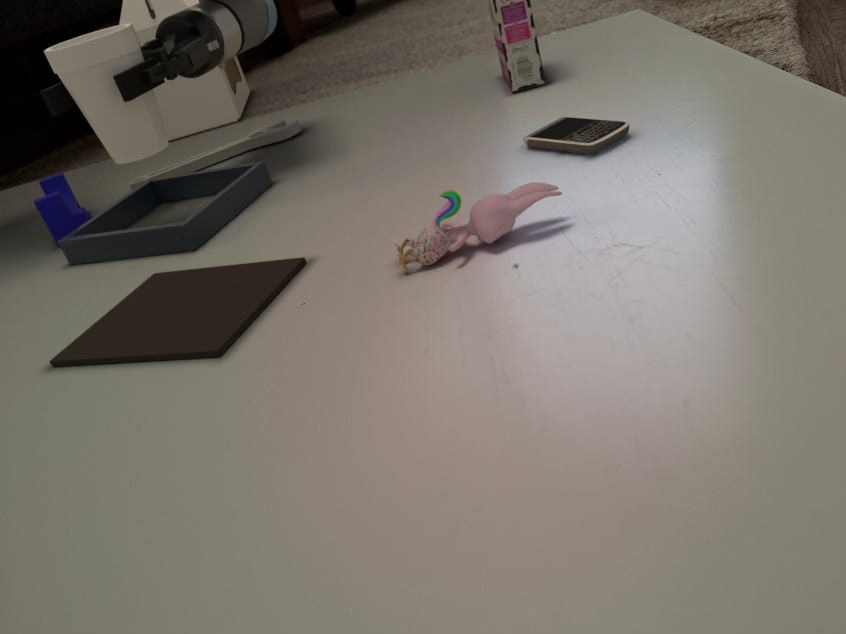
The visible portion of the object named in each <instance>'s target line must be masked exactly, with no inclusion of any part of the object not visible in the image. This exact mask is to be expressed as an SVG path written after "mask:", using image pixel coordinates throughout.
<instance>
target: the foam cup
mask: <svg viewBox="0 0 846 634" xmlns="http://www.w3.org/2000/svg"><path fill="white" fill-rule="evenodd" d="M140 47H141V43H140V41H139V38H138V36H137V34H136V31H135V29H134V27H133V25H132V23H129V24H122V25H119V24H118V25H114V26H110V27H106V28H102V29H99V30H95V31H92V32H88V33H85V34H82V35H79V36H77V37H76V36H75V37H73V38H71V39H68V40H65V41H62V42H60V43H57V44H55V45H52V46H50V47H48V48H46V49H45V50H43V53H44V55H45V58H46V59H47V61H48V63H49V65H50V67H51V69H52V71H53V73H54V74H55V75H57V76H58V78H59V79H60V82H63V84H64V85H65V87H66V88H67V90H68V91H69V93H70V94H71V96H72V98H73V99H74V101H75V102H76V104H77V107H78V108H79V110H80V111H81V113H82V115H83V117H84V118H85V119H86V121H87V122H88V124H89V125H90V127H91V128H92V130H93V132H94V133H95V135H96V137H97V138H98V139H99V141H100V143H101V144H102V145H103V147H104V149H105V150H106V152H107V153H108V154H109V156H110V158H111V159H112V160H113V162H114V164H117V165H123V164H130V163H134V162H138V161H141V160H144V159H147V158H150V157H152V156H154V155H156V154H158V153H160V152H163V151H164V150H165V149H166V148H168V147H169V145H170V143H169V142H170V141H168V140H167V134H166V131H165V128H164V124H163V121H162V118H161V114H160V111H159V108H158V104H157V101H156V98H155V95H154V91H153V89H152V90H150V91H148V92H146V93H144V94H142V95H141V96H139V97H137V98H135V99H133V100H131V101H128V102H124V100H123V98H122V96H121V94H120V91H119V89H118V87H117V85H116V83H115V81H114V78H113V76H115V75H117V74H119V73H121V72H123V71H125V70H127V69H129V68H131V67H133V66H135V65H137V64H139V63H141V62H143V61H144V58H143V55H142V51H141V48H140Z"/></svg>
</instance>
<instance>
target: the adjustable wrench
mask: <svg viewBox="0 0 846 634" xmlns="http://www.w3.org/2000/svg"><path fill="white" fill-rule="evenodd" d="M301 131H302V128H301V125H300V123H299V120H297V119H296V120H294V121H292V122H289V123H288V124H287V121H286V120H285V119H284V120H283V119H282V120H278V121H276V122H272V123H269V124H267V125H264V126H262V127H258V128H257V127H256V129H255V130H254V131H252V132H251V133H249V134H247V135H246V136H244V137H242V138H239V139H237V140H234V141H231V142H228V143H225V144H224V145H220V146H218V147H215V148H213V149H210V150H208V151H205V152H202V153H199V154H197V155H195V156H192V157H190V158H187V159H184V160H182V161H179V162H176V163H173V164H171V165H169V166H166V167H163V168H161V169H158V170H155V171H152V172H150V173H147V174H145V175H142V176H140V177H136V178H135V179H133V180H131V181H129V182H128V185H129V187H130V188H131V191H132V190H134V189H135V188H137V187H138V186H140V185H141V184H143V183H144V182H146V181H147V180H149V179H155V178H160V177H166V176H173V175H179V174H185V173H192V172H198V171H200V170H201V169H204V168H206V167H209V166H212V165H214V164H217V163H219V162H223V161H224V160H227V159H230V158H232V157H234V156H237V155H240V154H242V153H245V152H248V151H251V150H253V149H256V148H260V147H263V146H267V145H271V144H274V143H279V142H282V141H284V140H288V139H290V138H292V137H294V136H295V135H297V134H299V133H300V132H301Z"/></svg>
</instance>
